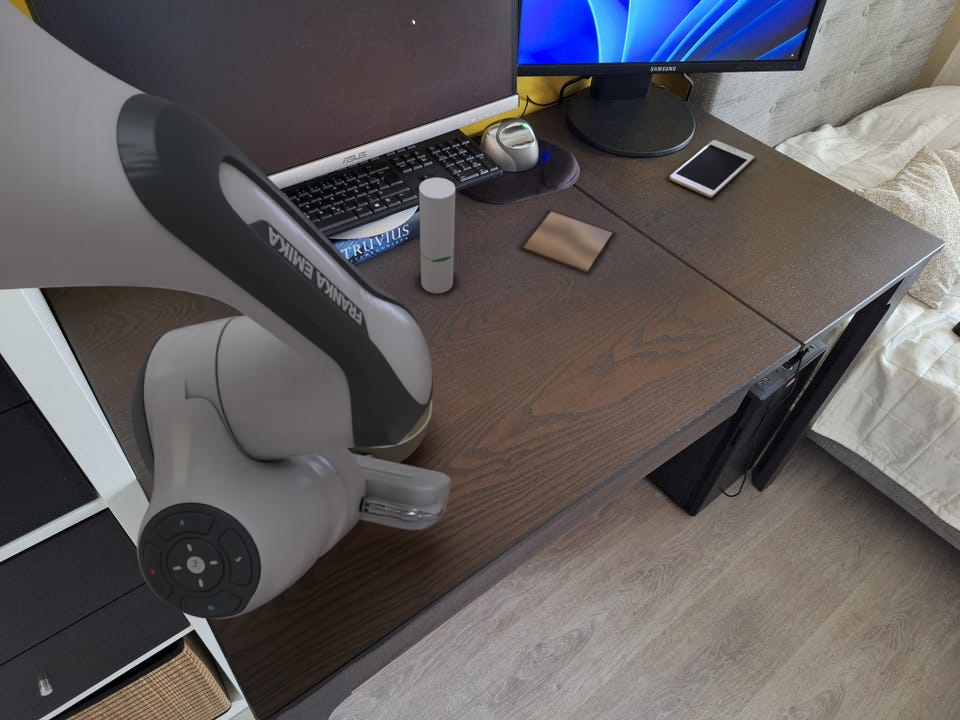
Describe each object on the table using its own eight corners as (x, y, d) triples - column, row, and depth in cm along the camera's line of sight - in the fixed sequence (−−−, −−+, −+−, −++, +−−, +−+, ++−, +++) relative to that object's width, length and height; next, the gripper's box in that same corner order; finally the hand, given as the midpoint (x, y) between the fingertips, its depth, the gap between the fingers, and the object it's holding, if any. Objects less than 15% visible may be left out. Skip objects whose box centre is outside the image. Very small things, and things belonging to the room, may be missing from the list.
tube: (415, 287, 90) (412, 192, 78) (429, 268, 92) (428, 174, 81) (444, 296, 89) (446, 202, 77) (457, 277, 91) (461, 183, 80)
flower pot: (427, 405, 77) (426, 364, 71) (438, 480, 70) (438, 441, 65) (338, 414, 75) (331, 373, 70) (341, 492, 69) (333, 453, 63)
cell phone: (754, 159, 115) (755, 156, 115) (711, 198, 107) (712, 195, 106) (713, 142, 118) (714, 139, 118) (668, 179, 110) (669, 176, 109)
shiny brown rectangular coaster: (587, 273, 93) (587, 270, 93) (522, 249, 96) (523, 246, 96) (612, 234, 99) (612, 232, 99) (550, 213, 102) (551, 211, 102)
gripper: (443, 482, 50) (467, 450, 64) (191, 428, 53) (267, 408, 66) (428, 562, 51) (456, 513, 65) (178, 506, 53) (256, 470, 67)
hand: (358, 460), depth 66 cm, fingers closed, pressing on flower pot
